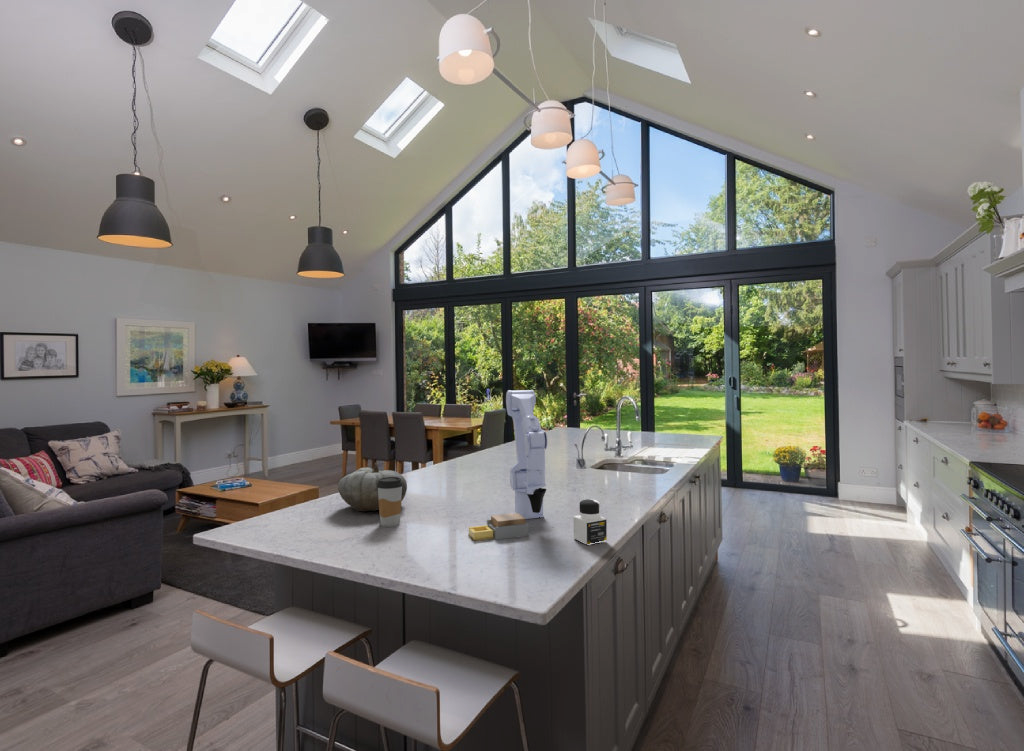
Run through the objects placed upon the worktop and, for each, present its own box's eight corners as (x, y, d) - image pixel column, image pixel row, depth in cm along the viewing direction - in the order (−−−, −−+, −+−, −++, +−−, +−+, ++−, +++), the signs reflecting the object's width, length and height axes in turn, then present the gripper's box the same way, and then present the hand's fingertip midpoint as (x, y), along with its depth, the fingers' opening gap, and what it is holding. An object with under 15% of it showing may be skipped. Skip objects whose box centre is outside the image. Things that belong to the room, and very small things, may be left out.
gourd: (339, 513, 186) (343, 461, 189) (332, 508, 209) (336, 462, 212) (412, 513, 196) (415, 463, 199) (398, 508, 218) (401, 464, 221)
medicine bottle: (587, 546, 158) (586, 504, 158) (573, 539, 165) (572, 499, 164) (607, 542, 162) (606, 501, 161) (592, 535, 168) (592, 496, 168)
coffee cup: (408, 522, 185) (407, 477, 184) (392, 529, 177) (392, 482, 177) (388, 519, 188) (387, 475, 188) (372, 526, 181) (371, 480, 180)
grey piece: (518, 527, 177) (518, 516, 177) (528, 535, 169) (528, 523, 169) (487, 531, 174) (487, 519, 174) (496, 539, 165) (496, 527, 165)
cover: (517, 520, 176) (517, 512, 176) (525, 526, 170) (525, 518, 170) (491, 523, 173) (491, 515, 173) (498, 529, 166) (498, 521, 166)
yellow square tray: (487, 532, 172) (487, 525, 172) (493, 538, 166) (493, 530, 166) (468, 534, 170) (468, 527, 170) (474, 540, 164) (473, 532, 164)
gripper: (530, 464, 182) (531, 505, 183) (516, 472, 169) (517, 517, 169) (551, 465, 180) (551, 507, 180) (539, 474, 166) (539, 518, 167)
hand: (536, 512), depth 174 cm, fingers closed
